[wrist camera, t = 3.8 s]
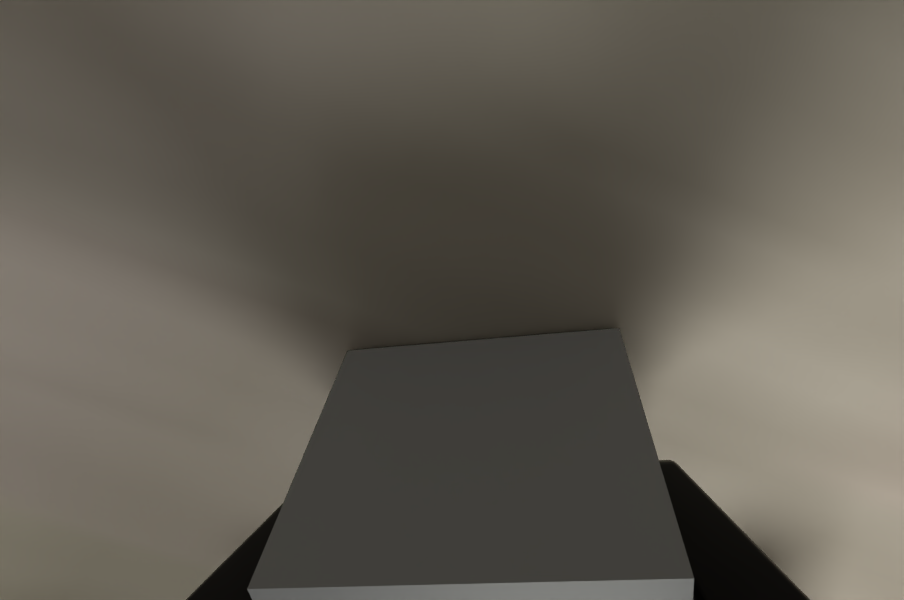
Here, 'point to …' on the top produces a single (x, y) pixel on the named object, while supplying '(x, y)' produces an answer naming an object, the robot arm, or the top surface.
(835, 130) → the top surface
